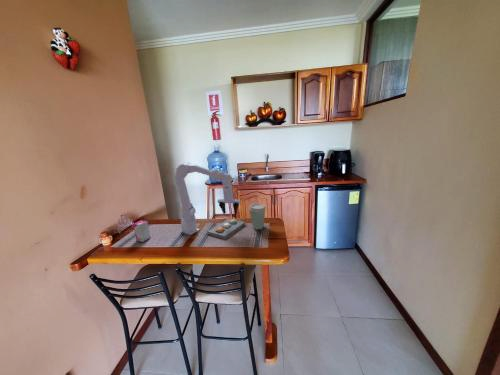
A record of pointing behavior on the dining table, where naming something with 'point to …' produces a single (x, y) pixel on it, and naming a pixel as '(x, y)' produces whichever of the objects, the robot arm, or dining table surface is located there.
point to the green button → (233, 221)
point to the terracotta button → (219, 229)
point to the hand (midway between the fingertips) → (230, 213)
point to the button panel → (226, 232)
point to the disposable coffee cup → (257, 215)
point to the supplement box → (141, 231)
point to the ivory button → (226, 225)
